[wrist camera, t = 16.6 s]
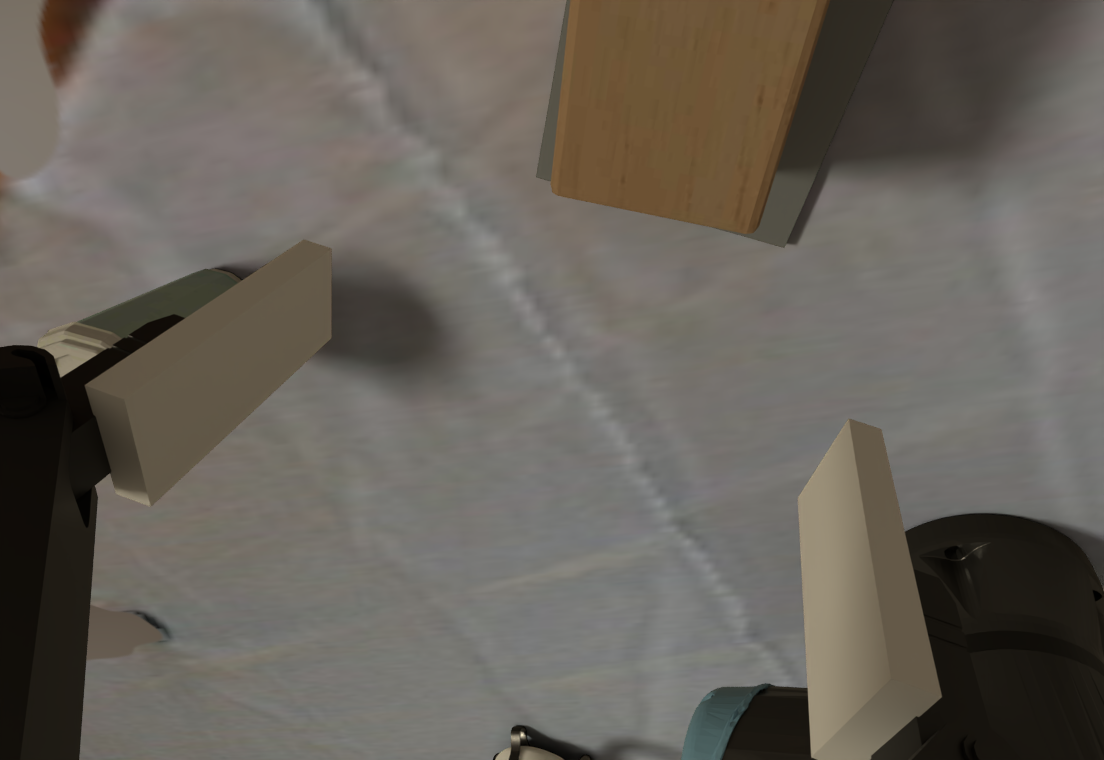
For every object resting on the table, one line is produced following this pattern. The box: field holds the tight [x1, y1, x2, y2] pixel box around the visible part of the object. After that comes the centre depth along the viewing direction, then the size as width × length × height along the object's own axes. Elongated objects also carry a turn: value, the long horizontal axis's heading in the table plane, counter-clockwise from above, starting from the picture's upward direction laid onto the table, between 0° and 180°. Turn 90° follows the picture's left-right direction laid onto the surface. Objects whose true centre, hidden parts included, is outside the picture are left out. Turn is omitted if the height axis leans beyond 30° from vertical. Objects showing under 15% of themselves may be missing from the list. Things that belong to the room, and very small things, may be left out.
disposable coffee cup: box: [37, 268, 242, 377], centre depth 49 cm, size 11×11×15 cm
